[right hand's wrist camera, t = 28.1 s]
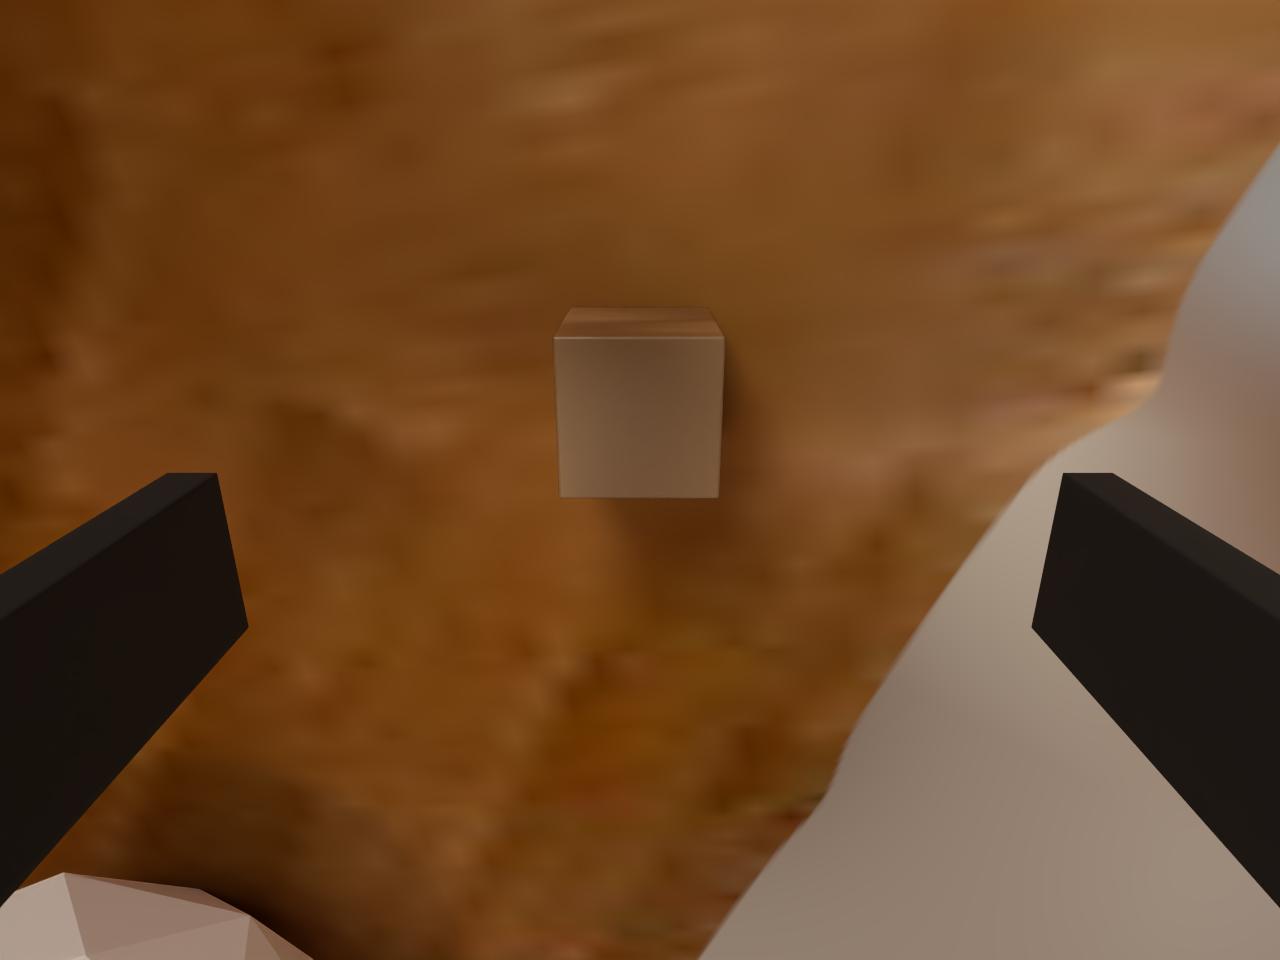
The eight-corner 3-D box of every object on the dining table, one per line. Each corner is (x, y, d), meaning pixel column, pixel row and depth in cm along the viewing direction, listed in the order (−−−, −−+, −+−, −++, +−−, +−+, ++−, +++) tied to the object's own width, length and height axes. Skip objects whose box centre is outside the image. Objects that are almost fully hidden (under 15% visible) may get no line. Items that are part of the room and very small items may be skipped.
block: (708, 306, 23) (725, 336, 18) (704, 441, 24) (719, 499, 20) (569, 306, 23) (552, 336, 18) (573, 441, 24) (558, 499, 20)
